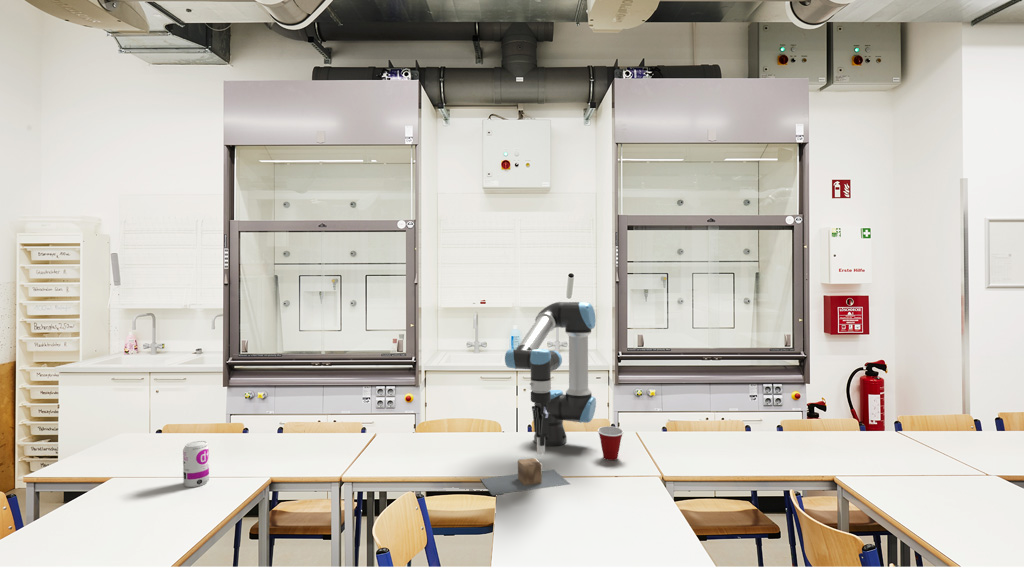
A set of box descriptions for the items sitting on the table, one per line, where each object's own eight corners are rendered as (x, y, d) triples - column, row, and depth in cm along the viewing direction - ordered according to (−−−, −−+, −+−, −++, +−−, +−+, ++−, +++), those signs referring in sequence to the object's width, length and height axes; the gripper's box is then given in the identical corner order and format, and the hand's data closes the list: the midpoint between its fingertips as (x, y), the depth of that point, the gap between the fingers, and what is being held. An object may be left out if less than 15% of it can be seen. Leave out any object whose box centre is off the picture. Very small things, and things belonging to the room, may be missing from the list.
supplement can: (214, 481, 207) (213, 441, 207) (195, 489, 199) (194, 448, 199) (197, 478, 209) (197, 439, 209) (178, 486, 202) (177, 446, 201)
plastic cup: (600, 462, 224) (600, 433, 224) (595, 454, 235) (595, 426, 234) (626, 462, 225) (626, 433, 224) (620, 453, 235) (619, 425, 235)
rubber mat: (553, 470, 216) (553, 469, 216) (570, 484, 201) (570, 484, 201) (480, 479, 207) (480, 478, 207) (492, 495, 191) (492, 494, 191)
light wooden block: (535, 458, 209) (517, 460, 206) (541, 464, 202) (524, 466, 200) (535, 476, 209) (517, 478, 207) (542, 482, 202) (524, 485, 200)
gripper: (525, 388, 210) (525, 449, 211) (537, 395, 198) (537, 460, 198) (543, 386, 213) (543, 447, 213) (556, 393, 200) (557, 457, 201)
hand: (540, 453), depth 206 cm, fingers closed
